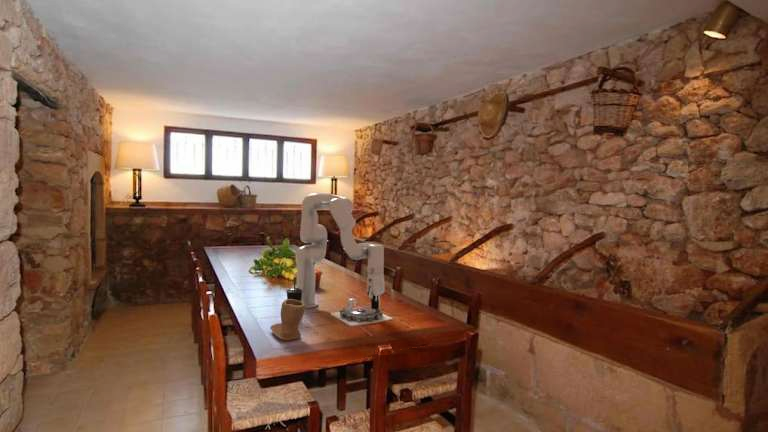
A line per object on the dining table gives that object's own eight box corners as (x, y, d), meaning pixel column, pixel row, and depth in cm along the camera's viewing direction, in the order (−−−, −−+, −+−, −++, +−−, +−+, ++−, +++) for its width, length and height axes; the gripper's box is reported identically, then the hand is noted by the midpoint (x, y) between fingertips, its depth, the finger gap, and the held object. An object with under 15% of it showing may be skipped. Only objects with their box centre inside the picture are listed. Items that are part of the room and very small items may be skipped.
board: (350, 326, 190) (350, 325, 190) (330, 314, 208) (330, 313, 208) (392, 319, 203) (393, 318, 203) (370, 308, 220) (370, 307, 220)
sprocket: (381, 322, 194) (381, 303, 194) (336, 320, 195) (337, 301, 195) (383, 310, 215) (384, 292, 214) (343, 308, 216) (343, 290, 215)
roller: (350, 310, 217) (350, 300, 216) (346, 308, 220) (346, 298, 220) (357, 309, 219) (357, 299, 219) (353, 307, 222) (353, 297, 222)
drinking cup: (287, 322, 193) (288, 279, 192) (283, 317, 200) (284, 275, 199) (304, 320, 196) (305, 278, 195) (299, 316, 203) (300, 274, 202)
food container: (294, 285, 267) (294, 268, 266) (319, 284, 272) (320, 268, 271) (296, 291, 252) (297, 273, 251) (323, 290, 257) (324, 273, 256)
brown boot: (308, 339, 172) (309, 303, 171) (279, 343, 166) (280, 306, 166) (296, 328, 185) (297, 294, 185) (269, 331, 180) (270, 297, 179)
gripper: (374, 273, 192) (374, 313, 193) (389, 269, 205) (389, 306, 206) (360, 272, 195) (360, 311, 196) (376, 267, 208) (375, 304, 209)
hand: (375, 308), depth 201 cm, fingers closed
